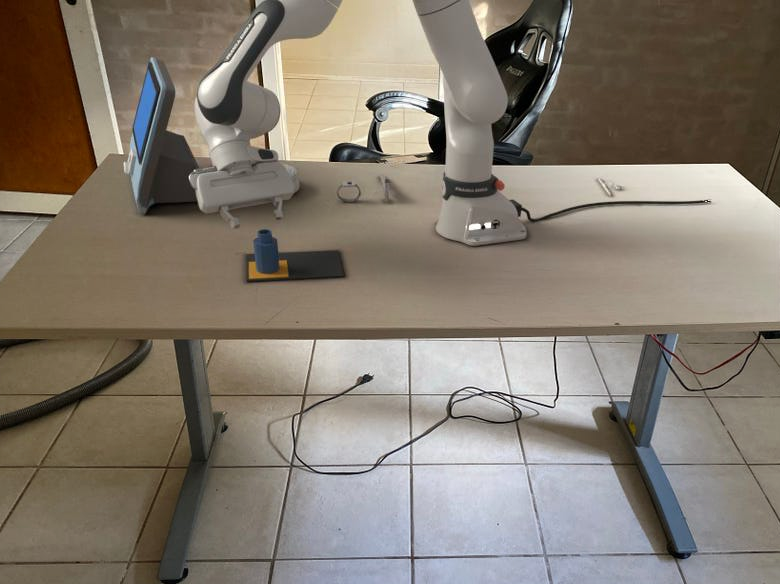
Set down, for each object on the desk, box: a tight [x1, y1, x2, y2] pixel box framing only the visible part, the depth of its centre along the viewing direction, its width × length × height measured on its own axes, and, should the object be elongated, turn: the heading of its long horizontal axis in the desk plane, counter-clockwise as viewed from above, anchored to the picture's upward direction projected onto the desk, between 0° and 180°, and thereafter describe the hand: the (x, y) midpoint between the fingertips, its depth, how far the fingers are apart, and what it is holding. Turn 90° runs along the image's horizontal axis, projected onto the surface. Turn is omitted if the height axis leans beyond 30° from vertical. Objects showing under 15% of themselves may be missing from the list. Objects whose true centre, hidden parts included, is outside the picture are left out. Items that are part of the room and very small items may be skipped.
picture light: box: [598, 178, 621, 196], centre depth 215 cm, size 14×4×2 cm, turn 5°
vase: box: [252, 228, 280, 274], centre depth 154 cm, size 5×5×8 cm
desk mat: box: [246, 249, 345, 283], centre depth 160 cm, size 20×13×1 cm, turn 104°
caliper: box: [379, 173, 390, 203], centre depth 201 cm, size 20×1×6 cm, turn 9°
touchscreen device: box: [122, 56, 201, 215], centre depth 186 cm, size 35×20×30 cm, turn 23°
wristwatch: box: [336, 181, 362, 203], centre depth 192 cm, size 6×3×5 cm, turn 102°
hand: (258, 223), depth 154 cm, fingers open, 8 cm apart
